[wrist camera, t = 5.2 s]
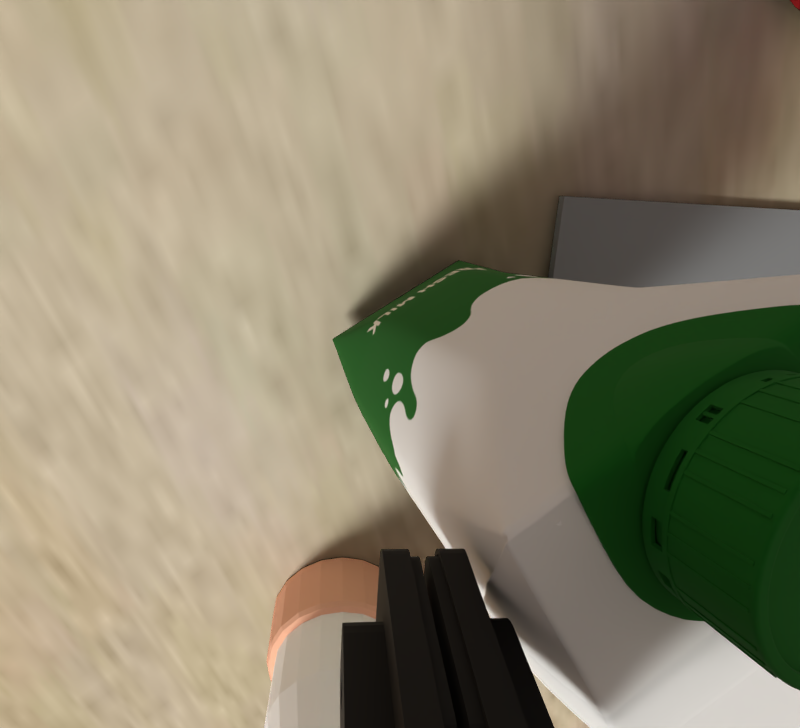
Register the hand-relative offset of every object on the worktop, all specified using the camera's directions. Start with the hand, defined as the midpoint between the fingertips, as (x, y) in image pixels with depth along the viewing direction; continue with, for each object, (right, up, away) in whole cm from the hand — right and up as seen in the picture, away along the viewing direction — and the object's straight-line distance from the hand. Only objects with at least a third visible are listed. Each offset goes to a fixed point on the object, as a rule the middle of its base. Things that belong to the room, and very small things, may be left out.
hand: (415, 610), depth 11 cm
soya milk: (+1, +5, +16) cm, 16 cm away
